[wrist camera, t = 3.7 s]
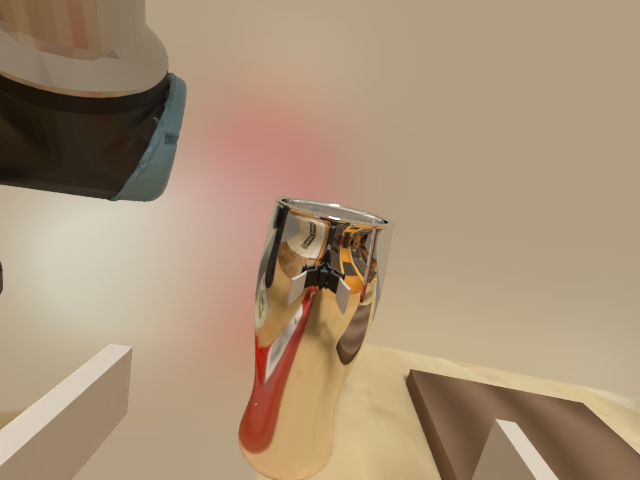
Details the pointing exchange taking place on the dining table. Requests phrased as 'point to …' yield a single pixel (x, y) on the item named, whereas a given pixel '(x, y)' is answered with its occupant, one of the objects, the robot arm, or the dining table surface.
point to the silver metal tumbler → (309, 329)
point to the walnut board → (532, 418)
